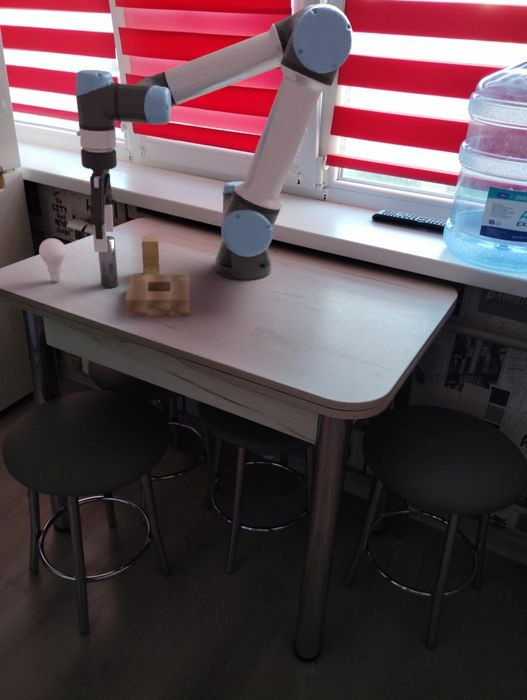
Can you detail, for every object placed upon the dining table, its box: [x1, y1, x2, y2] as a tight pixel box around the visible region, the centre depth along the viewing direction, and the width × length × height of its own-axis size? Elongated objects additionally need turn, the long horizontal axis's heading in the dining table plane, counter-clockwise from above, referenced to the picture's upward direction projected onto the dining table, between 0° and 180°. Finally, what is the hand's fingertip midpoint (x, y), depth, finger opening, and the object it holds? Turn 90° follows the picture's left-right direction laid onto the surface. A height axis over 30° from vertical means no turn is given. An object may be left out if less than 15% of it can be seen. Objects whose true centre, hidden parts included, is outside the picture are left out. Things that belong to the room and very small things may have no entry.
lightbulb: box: [38, 237, 67, 283], centre depth 144 cm, size 6×6×11 cm
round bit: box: [97, 235, 119, 290], centre depth 143 cm, size 4×4×12 cm
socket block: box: [125, 273, 191, 317], centre depth 139 cm, size 14×14×4 cm
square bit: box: [141, 235, 161, 275], centre depth 150 cm, size 4×4×10 cm
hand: (104, 240), depth 140 cm, fingers open, 13 cm apart
